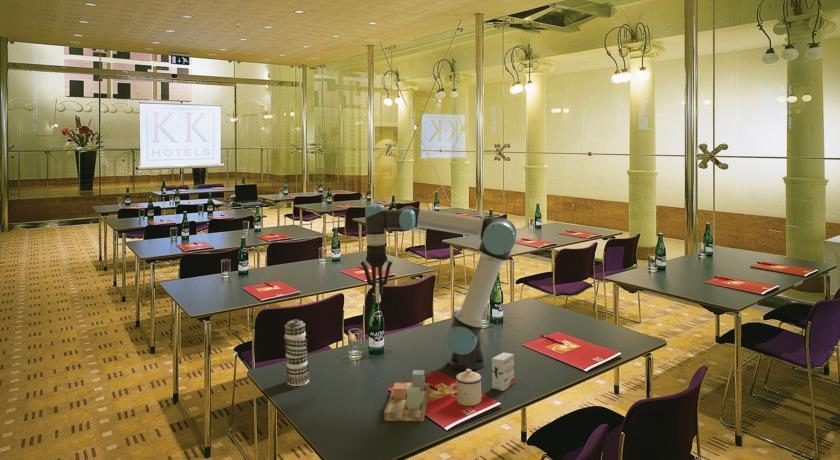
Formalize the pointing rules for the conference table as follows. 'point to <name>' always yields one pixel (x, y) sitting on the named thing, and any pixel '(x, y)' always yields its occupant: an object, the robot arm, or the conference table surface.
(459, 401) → the teacup with lid
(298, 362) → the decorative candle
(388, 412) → the block board
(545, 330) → the conference table surface
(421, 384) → the block slate
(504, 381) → the ink box
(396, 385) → the block terracotta
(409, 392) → the block sage
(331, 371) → the conference table surface
